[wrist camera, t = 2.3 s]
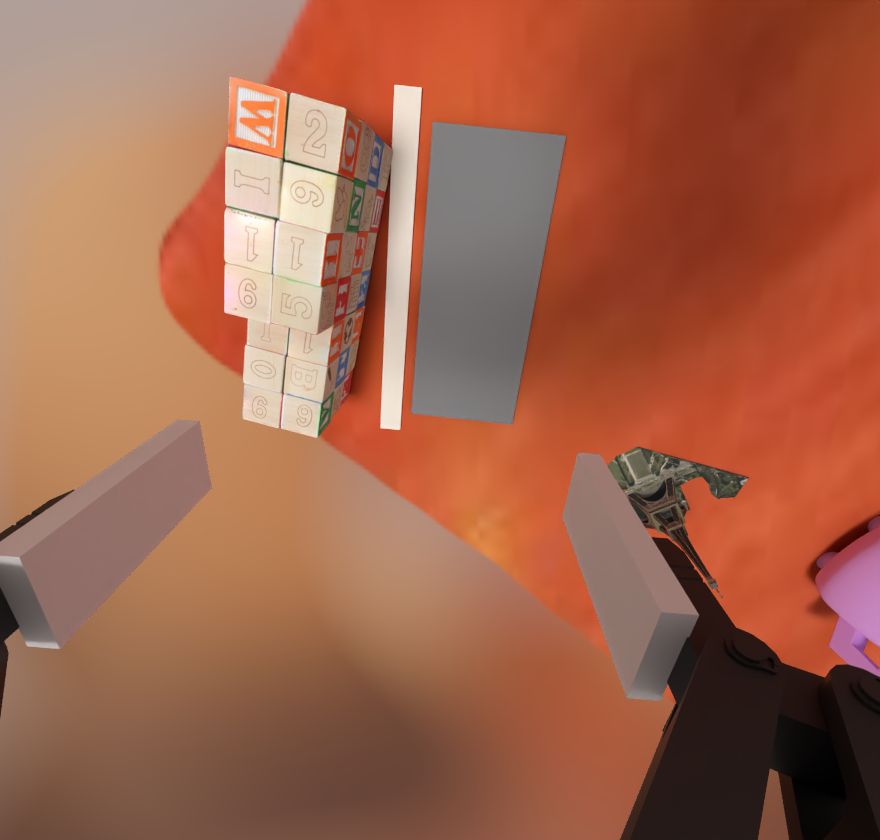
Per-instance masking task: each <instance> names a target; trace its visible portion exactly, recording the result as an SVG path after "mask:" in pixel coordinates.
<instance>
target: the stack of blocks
mask: <svg viewBox="0 0 880 840" xmlns="http://www.w3.org/2000/svg"><path fill="white" fill-rule="evenodd" d="M228 122H229V123H228V143H229V146H228V147H227V148H226V162H225V170H226V172H225V203H226V206H227V208H226V210H225V212H224V259H225V262H226V264H225V281H224V311H225V313H228V314H232V315H236V316H240V317H244V318H248V319H247V339H246V345H245V355H244V375H243V383H245V385H244V399H243V416H242V417H243V419H246V420H249V421H253V422H257V423H261V424H264V425H268V426H271V427H275V428H282V429H285V430H289V431H293V432H296V433H300V434H304V435H308V436H312V437H316V438H317V437H319V435H320V434H321V433H322V432H323V430H324V429H325V428H326V427H327V426H328V424H329V423H330V419H331V418H332V417H333V416H334V415H335V413H336V412H337V411H338V410H339V408H340V406H341V405H342V404H343V403H344V402H345V400H346V399H347V398H348V396H349V392H350V385H351V379H352V373H353V368H354V366H355V361H356V355H357V350H358V344H359V337H360V333H361V328H362V322H363V317H364V311H365V300H366V295H367V289H368V284H369V278H370V273H371V272H370V269H371V265H372V260H373V254H374V248H375V242H376V237H377V233H378V231H379V226H380V220H381V215H382V209H383V204H384V198H385V192H386V188H387V183H388V178H389V172H390V167H391V161H392V155H393V149H392V148H390V147H389V146H388V145H387V144H386V143H385V142H383V141H382V140H381V139H380V138H379V137H378V136H377V135H376V134H375V133H374V131H373V130H372V129H371V128H370V127H369V126H368V125H367V124H366V123H365V122H364V121H363V120H360V119H357V118H356V117H355V116H354V115H353V114H352V113H351V112H350V111H348V110H347V109H346V108H343V107H339V106H336V105H332V104H329V103H325V102H322V101H319V100H315V99H312V98H308V97H305V96H302V95H298V94H295V93H291V94H288V93H287V92H285V91H282V90H279V89H276V88H273V87H269V86H265V85H262V84H258V83H254V82H251V81H247V80H244V79H240V78H236V77H230V85H229V121H228Z"/></svg>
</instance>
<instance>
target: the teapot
mask: <svg viewBox="0 0 880 840" xmlns="http://www.w3.org/2000/svg"><path fill="white" fill-rule="evenodd" d="M868 530H869V531H870V532H868V533H867V534H865V535H863V536H862V537H860V538H858V539H857V540H855V541H854V542H852V543H851V544H850V545H848V546H847V547H845V548H844V549H843V550H842V551H841V552H839V553H838V552H827V553H825V554H823V555H821V556H820V557H819V558H818V559H817V562H816V564H817V566H818V567H819V568H821V570H820V571H819V572H818V574H817V575H816V578H815V582H816V586H817V589H818V591H819V594H820V595H821V597H822V599H823V600H824V601H825V602H826V603H827V604H828V605H829V606H830V608H832V609H833V610H834V611H835V612H836V613H837V614H838V615H839V619H838V621H837V624H836V627H835V630H834V633H833V635H832V638H831V641H830V644H829V647H830V648H831V649H832V650H833V651H834V652H836V653H837V654H838V655H839V656H840V657H841V658H842V659H844V660H845V661H846V662H847V663H848V664H849V665H852V666H855V667H859V668H862V669H865V670H867V671H869V672H871V673H873V674H875V675H877V676H879V677H880V668H879V667H878V666H877V665H876V664H875V663H874V662H873V661H872V660H871V659H870V658H869V657H868V656H866V655H865V654H864V653H863V651H864V649H865V646H866V644H867V641H868V639H869V640H870V641H872V642H873V643H875V644H876V645H877V646H879V647H880V515H879V516H877V517H875V518H873V519H872V520H871V521H870V522H869V524H868Z"/></svg>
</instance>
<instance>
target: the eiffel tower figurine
mask: <svg viewBox="0 0 880 840" xmlns="http://www.w3.org/2000/svg"><path fill="white" fill-rule="evenodd" d="M608 468H609V470H610V471H611V473H612V475H613V476H614V478H615V479H616V481H617V483H618V484H619V486H620V488H621V489H622V490H627V491H624V494H625V496H626V497H627V499H628V501H629V502H630V504H631V505H632V507H633V509H634V510H635V512H636V513H637V515H638V517H639V518H640V520H641V522H642V523H643V525H644V526H645V528H650V529H657V531H658V533H661V532H663V533H665V534H667V535H668V536H669V537H671V540H672V541H675V542H676V543H677V544H678V545H679V546H680V547H681V548H682V549H683V550H684V551H685V553H686V554H687V555H688V556H689V558H690V559H691V560H692V561H693V563H694V564H695V565H696V567H697V568H698V569H699V570H700V572H701V573H702V574H703V576H704V577H705V578H706V580H707V582H708V585H709V586H710V587H711V588H712V589H716V590H717V587H718V585H717V583H716V581H715V579H713V578H712V577H711V575H710V574H709V572H708V571H707V569H706V567H705V566H704V564H703V563H702V561H701V559H700V558H699V556H698V554H697V553H696V551H695V549H694V548H693V546H692V544H691V542H690V541H689V539H688V537H687V536H688V533H687V531H686V529H685V526H684V525H683V524H685V523H686V522H685V519H684V516H685V514H686V512H687V511H688V510H690V508H689V506H688V503H687V501H686V499H685V496H684V494H683V492H682V489H681V487H680V485H682V484H684V483H685V482H687V481H689V480H691V479H694V478H697V477H703V478H704V479H705V480H706V482H707V483H708V484H709V488H710V491H711V494H712V495H714V496H715V497H716V498H718V499H720V498H729V497H735V496H736V495H737V494H738V492H739V491H740V489H741V488H742V487H743V485H744V484H745V482H746V481H747V480H748V477H744V476H740V475H736V474H733V473H729V472H726V471H723V470H719V469H716V468H712V467H709V466H705V465H701V464H697V463H693V462H689V461H686V460H682V459H678V458H675V457H671V456H668V455H664V454H661V453H657V452H654V451H650V450H647V449H644V448H640V447H637V448H634V449H632V450H630V451H628V452H626V453H624V454H622V455H619V456H616V457H615V459H614V460H613V461H612V462H610V464H609V465H608ZM628 489H629V490H628ZM717 592H718V593H719V591H718V590H717ZM719 594H720V593H719ZM720 596H721V594H720ZM721 597H722V596H721ZM722 598H723V597H722Z"/></svg>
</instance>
